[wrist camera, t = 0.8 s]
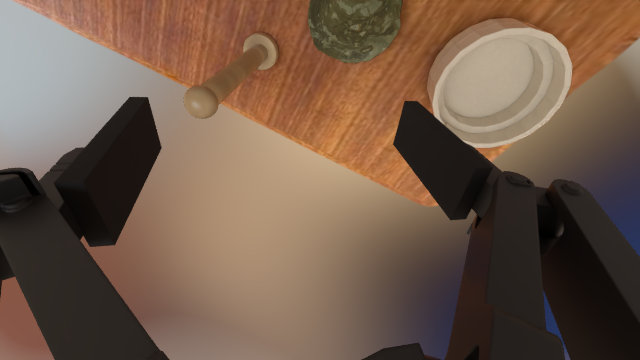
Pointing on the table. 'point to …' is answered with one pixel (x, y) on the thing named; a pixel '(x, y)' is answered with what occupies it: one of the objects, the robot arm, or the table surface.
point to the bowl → (498, 81)
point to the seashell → (353, 27)
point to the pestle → (231, 75)
